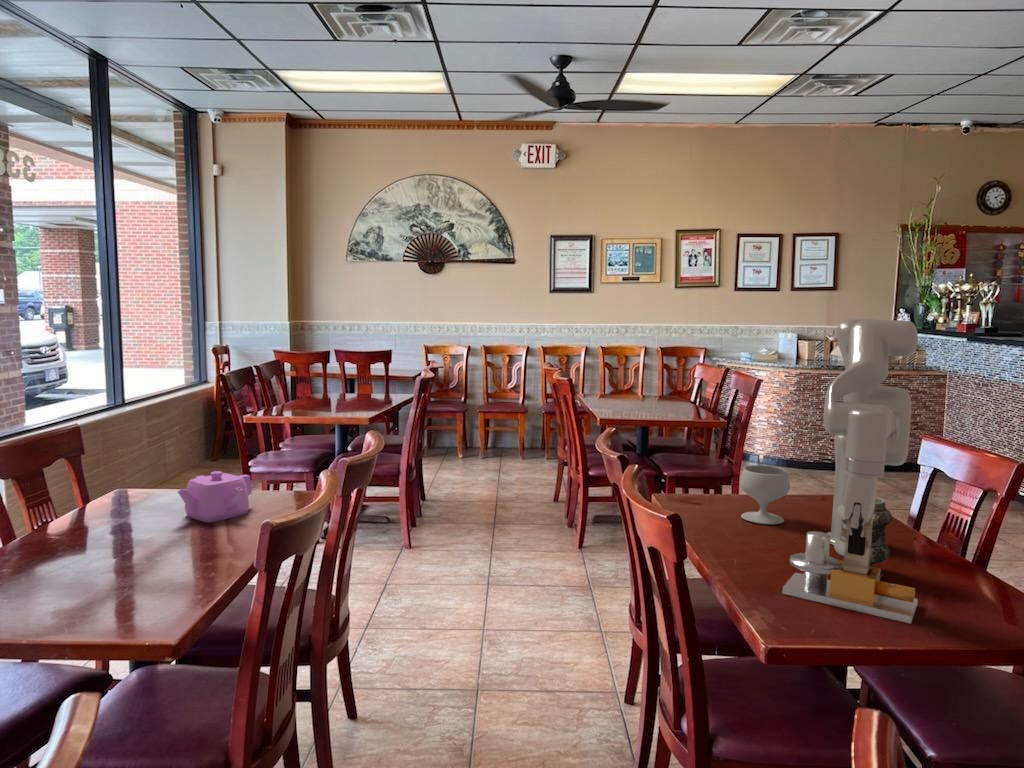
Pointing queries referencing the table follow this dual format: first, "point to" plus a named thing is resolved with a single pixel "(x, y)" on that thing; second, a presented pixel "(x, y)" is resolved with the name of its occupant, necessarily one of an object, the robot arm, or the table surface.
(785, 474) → the chalice
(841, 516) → the apothecary jar
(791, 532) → the table surface
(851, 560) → the cream rectangular block
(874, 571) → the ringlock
